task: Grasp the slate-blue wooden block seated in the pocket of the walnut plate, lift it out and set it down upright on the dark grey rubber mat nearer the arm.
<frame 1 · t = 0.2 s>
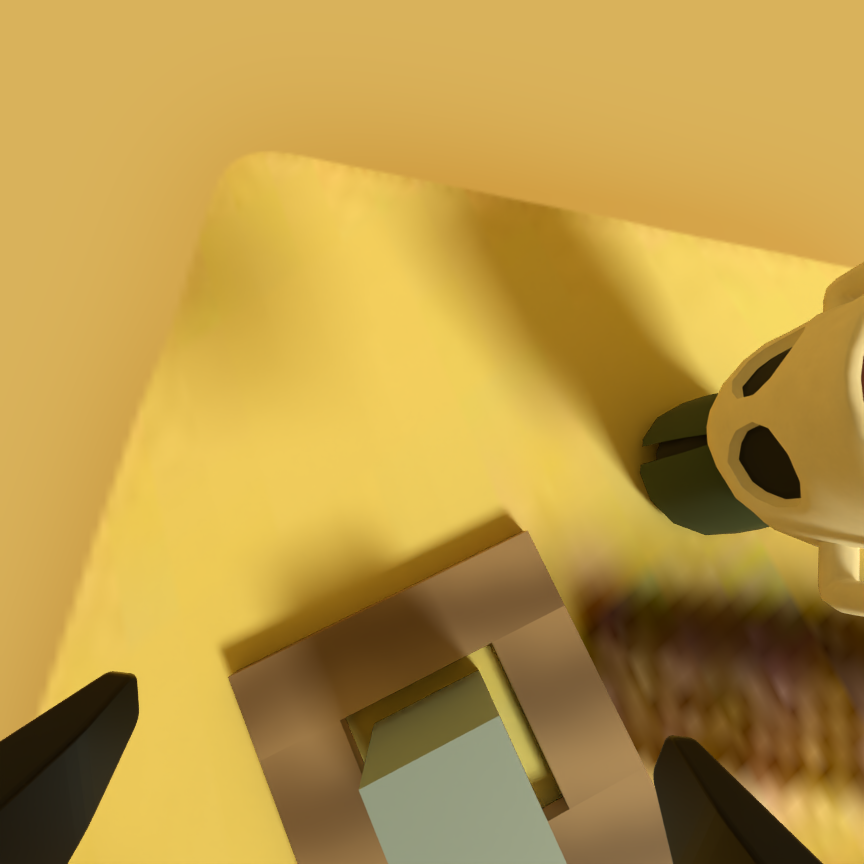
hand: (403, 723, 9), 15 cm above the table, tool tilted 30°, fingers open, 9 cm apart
slate block: (451, 753, 22), resting in walnut pocket plate
character mug: (697, 469, 25), on the table
walnut pocket plate: (452, 754, 22), on the table
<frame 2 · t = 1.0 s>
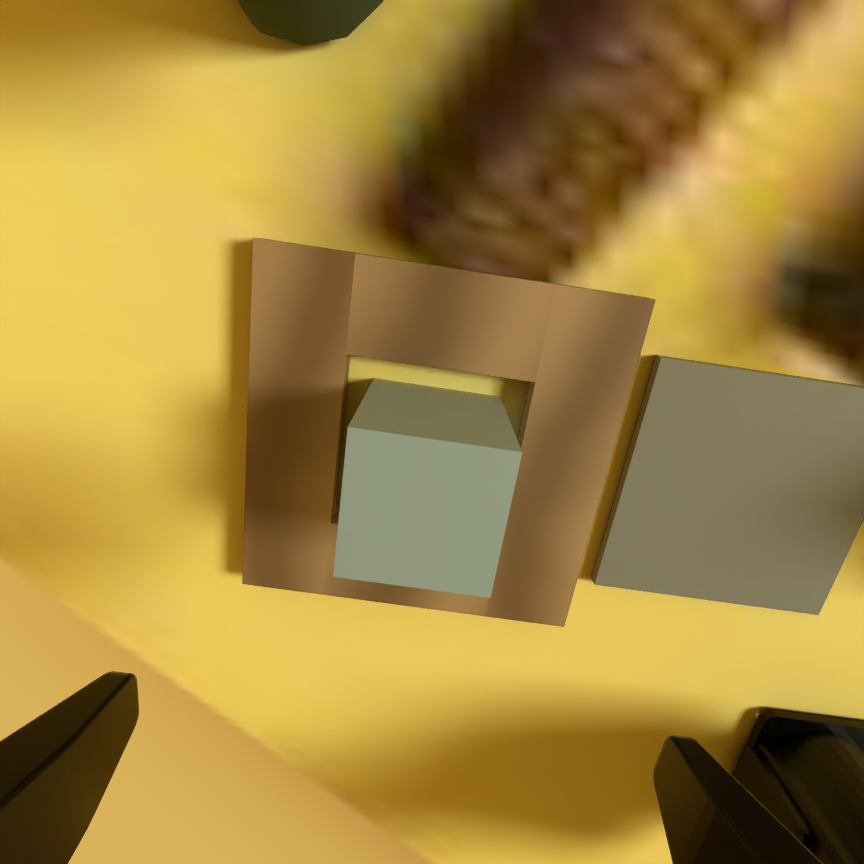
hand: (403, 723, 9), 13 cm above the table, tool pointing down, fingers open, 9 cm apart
rubber mat: (739, 491, 22), on the table
slate block: (428, 446, 21), resting in walnut pocket plate
walnut pocket plate: (428, 447, 21), on the table
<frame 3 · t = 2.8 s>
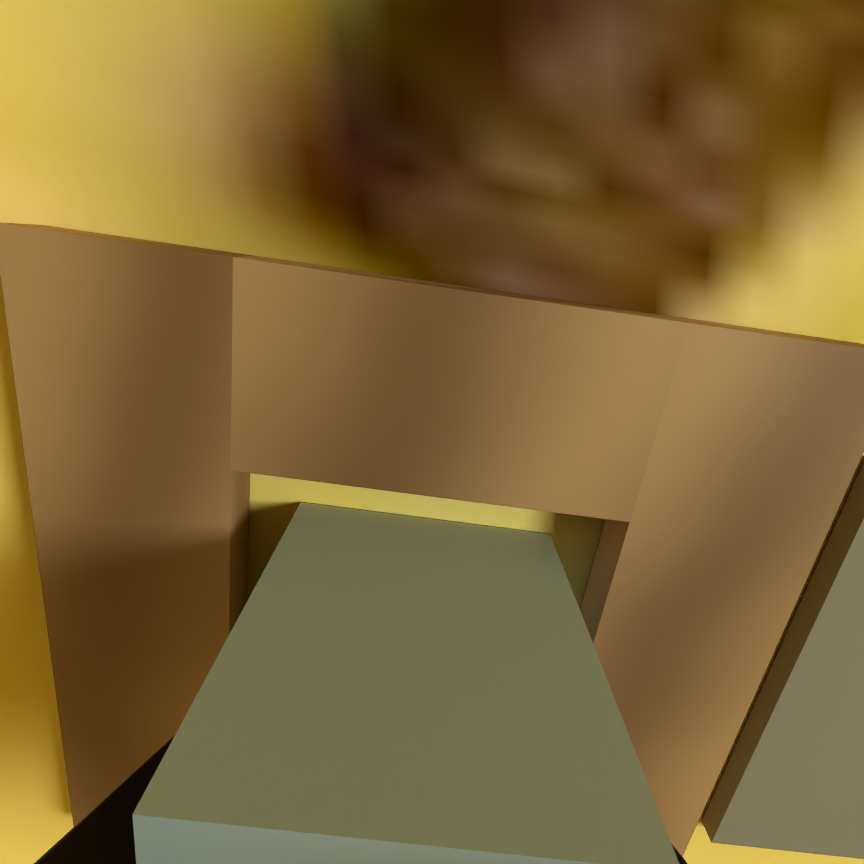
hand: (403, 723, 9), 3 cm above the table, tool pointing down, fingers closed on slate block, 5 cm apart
slate block: (411, 620, 11), resting in walnut pocket plate, touching gripper
walnut pocket plate: (410, 621, 11), on the table
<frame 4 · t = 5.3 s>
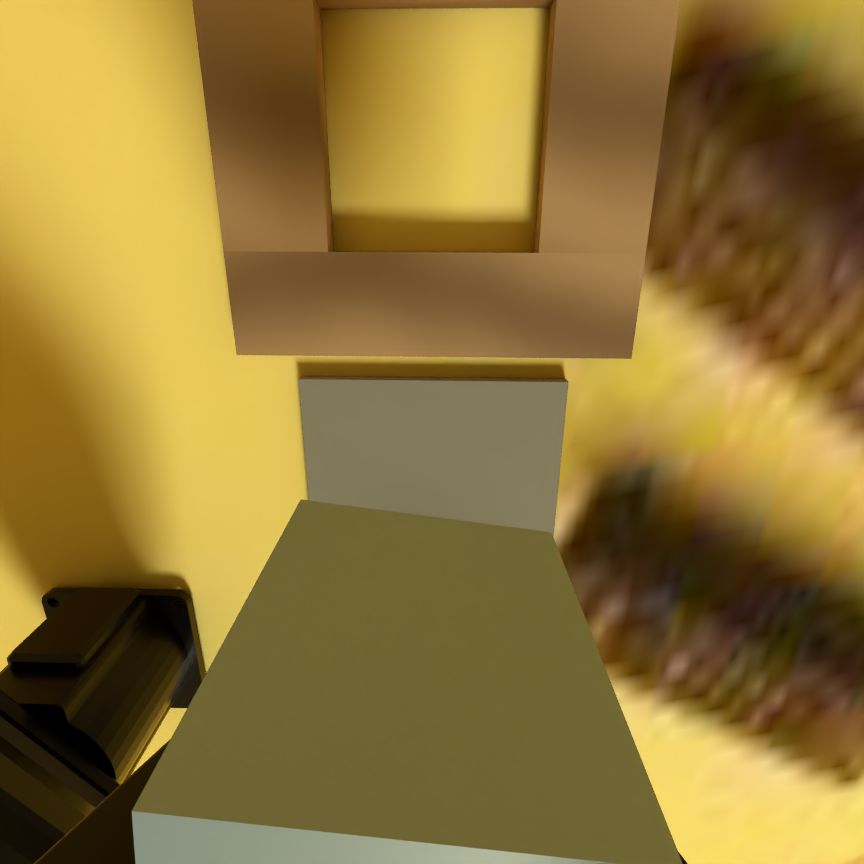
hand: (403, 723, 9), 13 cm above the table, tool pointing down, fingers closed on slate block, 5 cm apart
rubber mat: (432, 495, 21), on the table
slate block: (411, 618, 11), point 10 cm above the table, touching gripper
walnut pocket plate: (434, 138, 17), on the table
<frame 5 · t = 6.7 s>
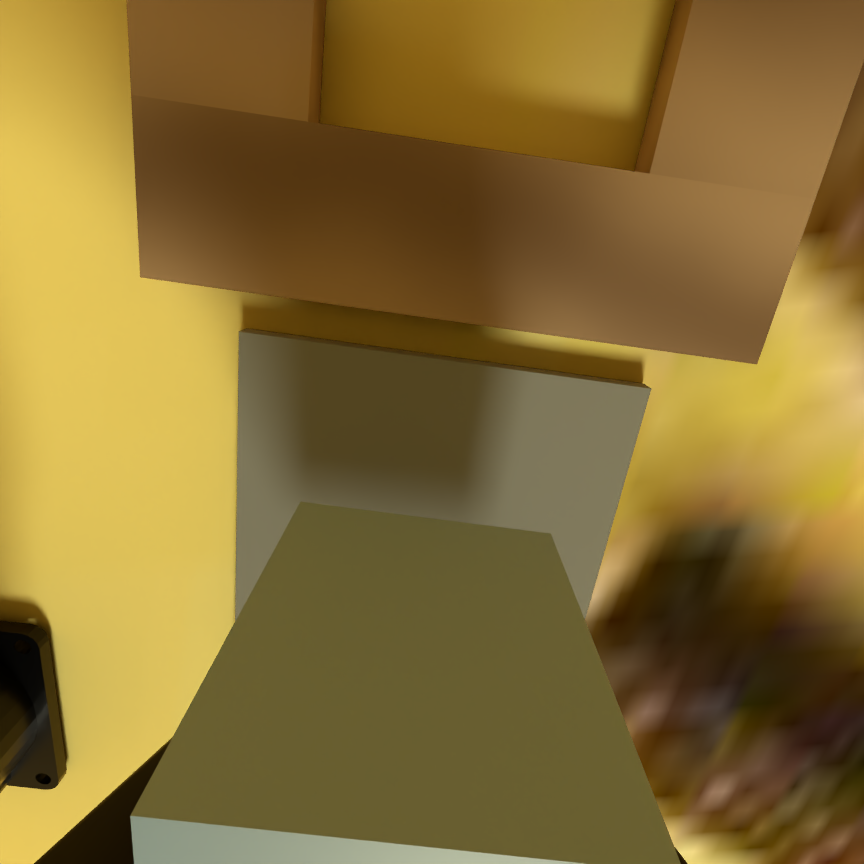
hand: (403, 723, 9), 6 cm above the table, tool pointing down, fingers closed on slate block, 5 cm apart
rubber mat: (421, 530, 15), on the table
slate block: (411, 620, 11), point 4 cm above the table, touching gripper
when the fingers open (4 cm above the table, at t = 7.9 s): slate block drops 1 cm, resting on rubber mat.
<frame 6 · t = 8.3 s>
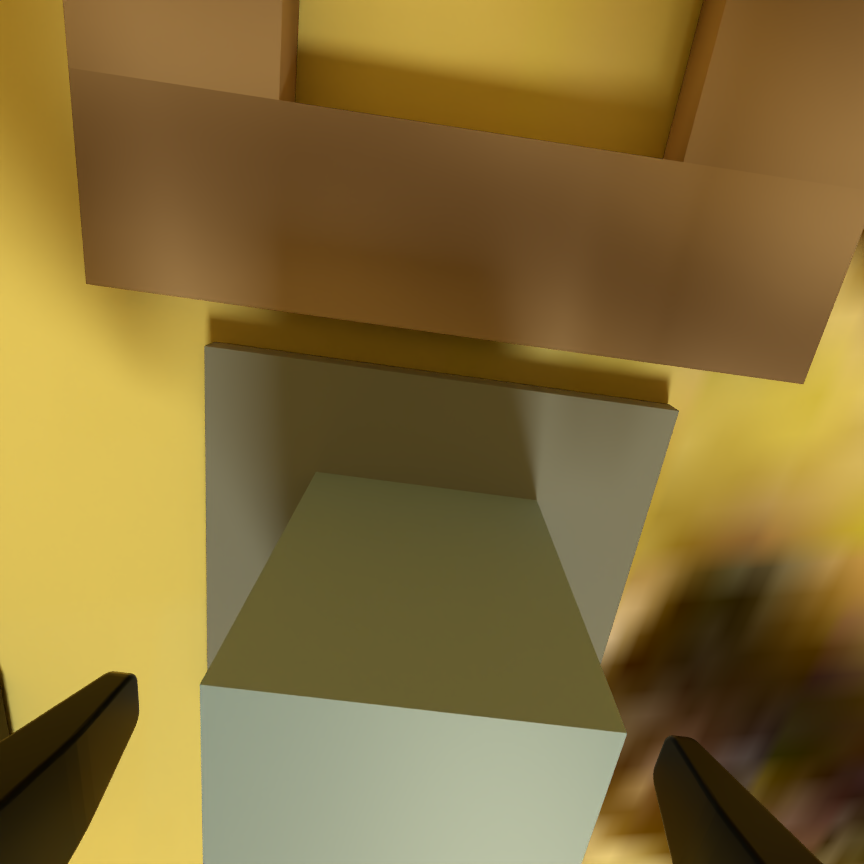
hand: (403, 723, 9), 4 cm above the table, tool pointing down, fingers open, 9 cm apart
rubber mat: (416, 567, 13), on the table
slate block: (413, 579, 13), resting on rubber mat
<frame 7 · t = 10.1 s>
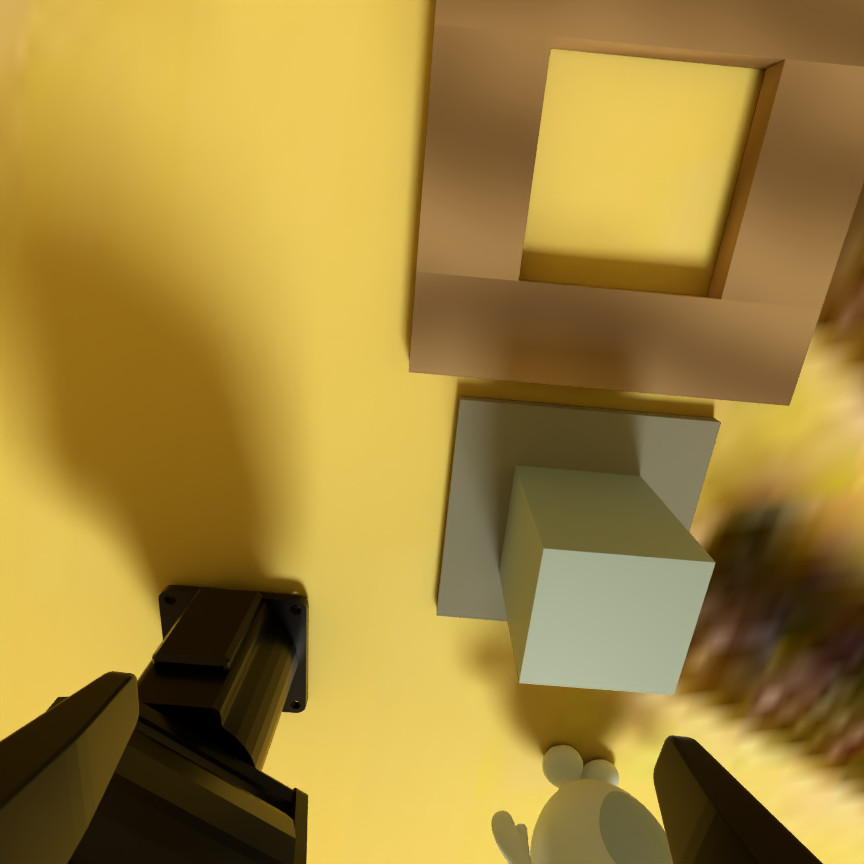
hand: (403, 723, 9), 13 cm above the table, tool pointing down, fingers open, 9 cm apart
toy figure: (575, 760, 27), on the table
rubber mat: (565, 520, 22), on the table
slate block: (567, 525, 22), resting on rubber mat
walnut pocket plate: (632, 181, 18), on the table
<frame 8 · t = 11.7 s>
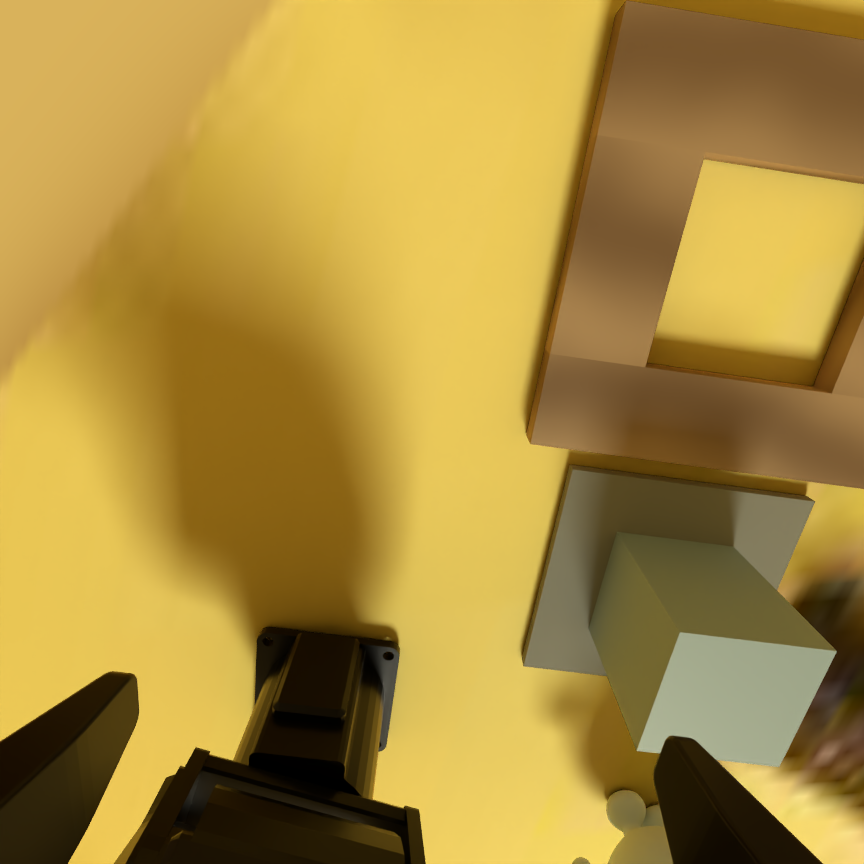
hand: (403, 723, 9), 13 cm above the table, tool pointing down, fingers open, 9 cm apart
toy figure: (635, 804, 28), on the table
rubber mat: (655, 582, 23), on the table
slate block: (658, 589, 23), resting on rubber mat
walnut pocket plate: (756, 279, 19), on the table
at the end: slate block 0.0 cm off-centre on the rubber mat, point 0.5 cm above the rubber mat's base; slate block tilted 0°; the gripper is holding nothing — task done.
